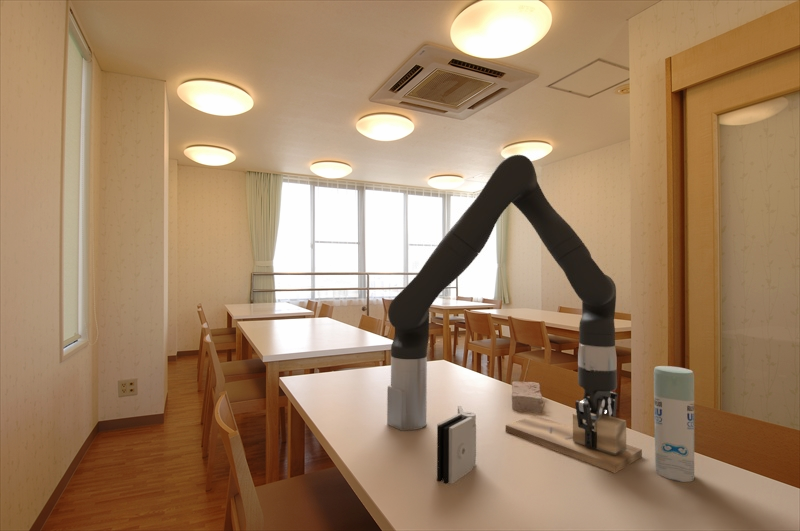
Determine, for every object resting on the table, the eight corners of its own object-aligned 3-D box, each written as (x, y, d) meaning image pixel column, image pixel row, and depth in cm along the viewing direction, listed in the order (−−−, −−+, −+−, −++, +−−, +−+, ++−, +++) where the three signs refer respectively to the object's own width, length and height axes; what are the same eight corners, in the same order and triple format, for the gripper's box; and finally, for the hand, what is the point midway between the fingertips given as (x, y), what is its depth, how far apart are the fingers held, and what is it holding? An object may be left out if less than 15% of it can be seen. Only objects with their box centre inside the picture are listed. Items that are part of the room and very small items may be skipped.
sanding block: (615, 455, 82) (614, 425, 82) (573, 441, 89) (572, 413, 89) (626, 449, 85) (626, 420, 85) (584, 435, 92) (584, 409, 92)
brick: (542, 413, 113) (542, 396, 113) (511, 411, 115) (511, 394, 115) (539, 397, 129) (539, 382, 129) (512, 395, 131) (511, 380, 131)
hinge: (457, 452, 87) (458, 405, 87) (482, 457, 85) (482, 409, 85) (433, 481, 75) (434, 426, 75) (461, 488, 72) (461, 431, 73)
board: (615, 473, 78) (614, 464, 78) (505, 431, 99) (505, 424, 99) (642, 456, 85) (641, 449, 86) (534, 421, 106) (534, 415, 106)
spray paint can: (696, 485, 74) (695, 375, 74) (654, 476, 77) (653, 370, 78) (693, 471, 79) (692, 368, 80) (654, 463, 83) (653, 364, 83)
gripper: (596, 358, 95) (596, 431, 94) (562, 366, 86) (563, 447, 86) (630, 364, 89) (630, 442, 88) (597, 373, 80) (598, 460, 80)
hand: (597, 444), depth 87 cm, fingers closed on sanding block, 5 cm apart
